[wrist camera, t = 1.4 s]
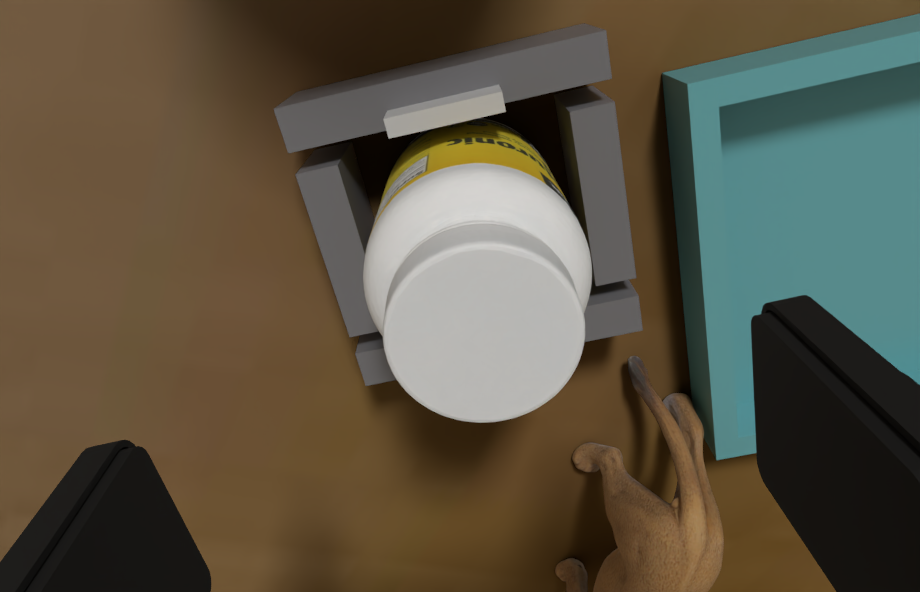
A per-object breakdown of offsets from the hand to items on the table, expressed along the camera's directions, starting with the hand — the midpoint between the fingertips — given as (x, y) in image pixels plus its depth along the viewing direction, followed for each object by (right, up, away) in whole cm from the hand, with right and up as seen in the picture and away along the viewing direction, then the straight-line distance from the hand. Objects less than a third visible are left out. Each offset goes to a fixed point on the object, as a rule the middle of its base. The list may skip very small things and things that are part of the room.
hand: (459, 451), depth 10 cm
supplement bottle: (0, +6, +12) cm, 13 cm away
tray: (+14, +5, +12) cm, 19 cm away
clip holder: (0, +6, +12) cm, 13 cm away
